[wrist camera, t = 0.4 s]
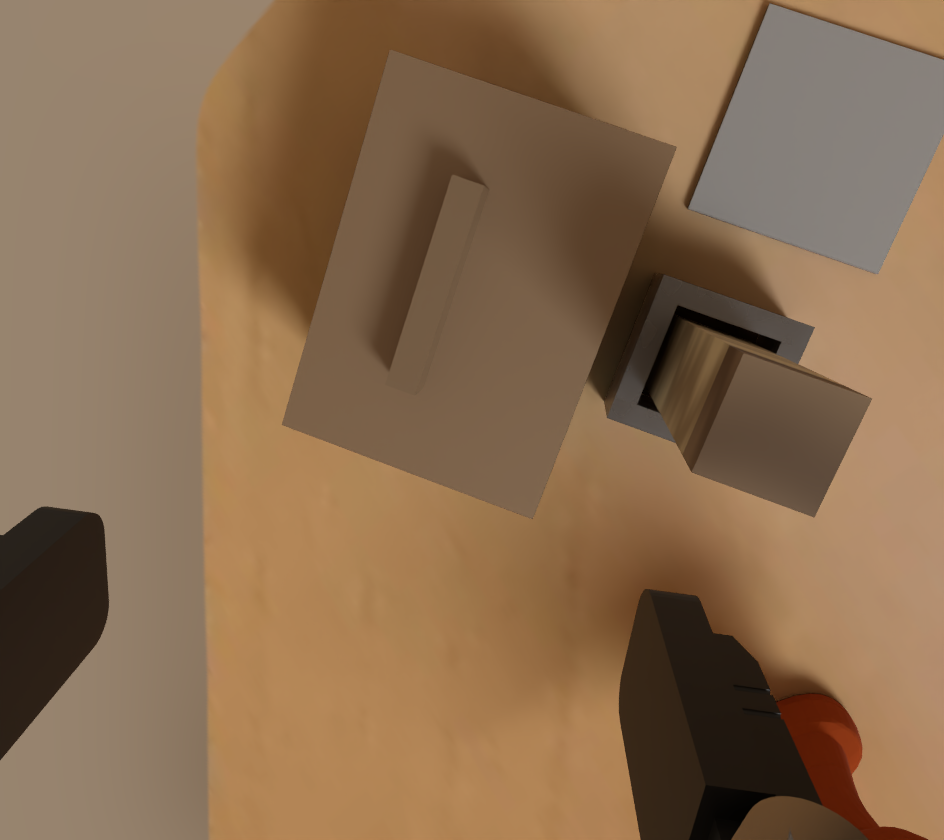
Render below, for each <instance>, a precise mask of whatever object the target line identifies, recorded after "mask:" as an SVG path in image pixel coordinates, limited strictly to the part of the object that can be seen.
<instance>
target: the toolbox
mask: <svg viewBox="0 0 944 840" xmlns="http://www.w3.org/2000/svg"><path fill="white" fill-rule="evenodd" d="M676 148H677V147H676V146H673V145H670V144H667V143H664V142H661V141H658V140H655V139H652V138H649V137H646V136H643V135H640V134H637V133H634V132H631V131H629V130H626V129H623V128H620V127H617V126H614V125H611V124H608V123H605V122H602V121H599V120H596V119H593V118H590V117H587V116H584V115H581V114H579V113H576V112H573V111H570V110H567V109H564V108H561V107H558V106H555V105H552V104H549V103H546V102H543V101H540V100H537V99H534V98H532V97H529V96H526V95H523V94H520V93H517V92H514V91H511V90H508V89H505V88H502V87H499V86H496V85H493V84H490V83H487V82H485V81H482V80H479V79H476V78H473V77H470V76H467V75H464V74H461V73H458V72H455V71H452V70H449V69H446V68H443V67H440V66H438V65H435V64H432V63H429V62H426V61H423V60H420V59H417V58H414V57H411V56H408V55H405V54H402V53H399V52H396V51H393V50H390V51H389V54H388V58H387V61H386V65H385V68H384V72H383V75H382V79H381V82H380V86H379V89H378V93H377V96H376V100H375V103H374V107H373V110H372V113H371V117H370V120H369V124H368V127H367V131H366V134H365V138H364V141H363V145H362V148H361V152H360V155H359V159H358V162H357V166H356V169H355V173H354V176H353V179H352V183H351V186H350V190H349V193H348V197H347V200H346V204H345V207H344V211H343V214H342V218H341V221H340V225H339V228H338V232H337V235H336V238H335V242H334V245H333V249H332V252H331V256H330V259H329V263H328V266H327V270H326V273H325V277H324V280H323V284H322V287H321V291H320V294H319V298H318V301H317V304H316V308H315V311H314V315H313V318H312V322H311V325H310V329H309V332H308V336H307V339H306V343H305V346H304V350H303V353H302V357H301V360H300V363H299V367H298V370H297V374H296V377H295V381H294V384H293V388H292V391H291V395H290V398H289V402H288V405H287V409H286V412H285V416H284V419H283V422H282V425H284V426H286V427H289V428H292V429H294V430H297V431H300V432H302V433H305V434H307V435H310V436H313V437H315V438H318V439H321V440H323V441H326V442H329V443H331V444H334V445H337V446H339V447H342V448H345V449H347V450H350V451H353V452H355V453H358V454H361V455H363V456H366V457H369V458H371V459H374V460H377V461H379V462H382V463H384V464H387V465H390V466H392V467H395V468H398V469H400V470H403V471H406V472H408V473H411V474H414V475H416V476H419V477H422V478H424V479H427V480H430V481H432V482H435V483H438V484H440V485H443V486H446V487H448V488H451V489H454V490H456V491H459V492H461V493H464V494H467V495H469V496H472V497H475V498H477V499H480V500H483V501H485V502H488V503H491V504H493V505H496V506H499V507H501V508H504V509H507V510H509V511H512V512H515V513H517V514H520V515H523V516H525V517H528V518H531V519H533V517H534V515H535V512H536V509H537V507H538V504H539V502H540V499H541V497H542V494H543V491H544V489H545V486H546V484H547V481H548V479H549V476H550V473H551V471H552V468H553V466H554V463H555V460H556V458H557V455H558V453H559V450H560V448H561V445H562V442H563V440H564V437H565V435H566V432H567V429H568V427H569V424H570V422H571V419H572V417H573V414H574V411H575V409H576V406H577V404H578V401H579V398H580V396H581V393H582V391H583V388H584V386H585V383H586V380H587V378H588V375H589V373H590V370H591V367H592V365H593V362H594V360H595V357H596V355H597V352H598V349H599V347H600V344H601V342H602V339H603V336H604V334H605V331H606V329H607V326H608V324H609V321H610V318H611V316H612V313H613V311H614V308H615V305H616V303H617V300H618V298H619V295H620V293H621V290H622V287H623V285H624V282H625V280H626V277H627V275H628V272H629V269H630V267H631V264H632V262H633V259H634V256H635V254H636V251H637V249H638V246H639V244H640V241H641V238H642V236H643V233H644V231H645V228H646V225H647V223H648V220H649V218H650V215H651V213H652V210H653V207H654V205H655V202H656V200H657V197H658V194H659V192H660V189H661V187H662V184H663V182H664V179H665V176H666V174H667V171H668V169H669V166H670V163H671V161H672V158H673V156H674V153H675V151H676Z"/></svg>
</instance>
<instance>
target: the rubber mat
mask: <svg viewBox="0 0 944 840" xmlns="http://www.w3.org/2000/svg"><path fill="white" fill-rule="evenodd" d="M943 134H944V60H942V59H939V58H936V57H933V56H930V55H927V54H924V53H921V52H918V51H915V50H912V49H909V48H906V47H903V46H899V45H896V44H893V43H890V42H887V41H884V40H881V39H878V38H875V37H872V36H869V35H866V34H863V33H860V32H856V31H853V30H850V29H847V28H844V27H841V26H838V25H835V24H832V23H829V22H826V21H823V20H820V19H816V18H813V17H810V16H807V15H804V14H801V13H798V12H795V11H792V10H789V9H786V8H783V7H780V6H777V5H773V4H769V5H768V8H767V10H766V13H765V15H764V18H763V20H762V23H761V25H760V28H759V30H758V33H757V35H756V38H755V40H754V43H753V45H752V48H751V50H750V53H749V55H748V58H747V61H746V63H745V66H744V68H743V71H742V73H741V76H740V78H739V81H738V83H737V86H736V88H735V91H734V93H733V96H732V98H731V101H730V103H729V106H728V108H727V111H726V113H725V116H724V118H723V121H722V123H721V126H720V128H719V131H718V133H717V136H716V138H715V141H714V143H713V146H712V148H711V151H710V153H709V156H708V158H707V161H706V163H705V166H704V168H703V171H702V173H701V176H700V179H699V181H698V184H697V186H696V189H695V191H694V194H693V196H692V199H691V201H690V204H689V206H688V209H689V210H692V211H695V212H698V213H701V214H704V215H706V216H709V217H712V218H715V219H718V220H721V221H724V222H727V223H730V224H732V225H735V226H738V227H741V228H744V229H747V230H750V231H753V232H756V233H759V234H761V235H764V236H767V237H770V238H773V239H776V240H779V241H782V242H785V243H788V244H790V245H793V246H796V247H799V248H802V249H805V250H808V251H811V252H814V253H816V254H819V255H822V256H825V257H828V258H831V259H834V260H837V261H840V262H843V263H845V264H848V265H851V266H854V267H857V268H860V269H863V270H866V271H869V272H872V273H874V274H878V273H879V271H880V269H881V267H882V264H883V262H884V260H885V258H886V256H887V254H888V252H889V250H890V247H891V245H892V243H893V241H894V239H895V237H896V235H897V232H898V230H899V228H900V226H901V224H902V222H903V220H904V218H905V215H906V213H907V211H908V209H909V207H910V205H911V203H912V201H913V198H914V196H915V194H916V192H917V190H918V188H919V186H920V183H921V181H922V179H923V177H924V175H925V173H926V171H927V169H928V166H929V164H930V162H931V160H932V158H933V156H934V154H935V152H936V149H937V147H938V145H939V143H940V141H941V139H942V137H943Z"/></svg>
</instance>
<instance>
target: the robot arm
mask: <svg viewBox="0 0 944 840" xmlns="http://www.w3.org/2000/svg"><path fill="white" fill-rule="evenodd" d="M108 598H109V597H108V581H107V565H106V549H105V534H104V525H103V522H102V519H101V518H100V516H99V515H98V514H95V513H90V512H83V511H75V510H68V509H60V508H53V507H41V508H39V509H37V510H35V511H34V512H33V513H31V514H30V515H29V516H27V517H26V518H25V519H24V520H22V521H21V522H20V523H18V524H17V525H16V526H15V527H13V528H12V529H11V530H10V531H8V532H7V533H6V534H4V535H0V760H1V759H2V758H3V756H4V755H5V754H6V753H7V751H8V750H9V749H10V748H11V747H12V746H13V744H14V743H15V742H16V741H17V739H18V738H19V737H20V736H21V735H22V733H23V732H24V731H25V730H26V729H27V727H28V726H29V725H30V724H31V723H32V721H33V720H34V719H35V718H36V717H37V715H38V714H39V713H40V712H41V710H42V709H43V708H44V707H45V706H46V705H47V703H48V702H49V701H50V700H51V698H52V697H53V696H54V695H55V694H56V692H57V691H58V690H59V689H60V688H61V686H62V685H63V684H64V683H65V681H66V680H67V679H68V678H69V677H70V676H71V674H72V673H73V672H74V671H75V670H76V668H77V667H78V666H79V665H80V663H81V662H82V661H83V660H84V659H85V657H86V656H87V655H88V654H89V653H90V651H91V650H92V649H93V648H94V646H95V645H96V644H97V642H98V640H99V639H100V637H101V634H102V632H103V630H104V627H105V623H106V620H107V616H108V608H109V599H108ZM619 716H620V723H621V729H622V735H623V741H624V746H625V752H626V758H627V764H628V769H629V775H630V781H631V787H632V792H633V798H634V804H635V810H636V815H637V821H638V827H639V832H640V838H641V840H869V839H868V838H867V837H866V836H865V835H864V834H863V833H862V832H861V831H860V830H859V829H857V828H856V827H855V826H854V825H852V824H851V823H850V822H849V821H847V820H846V819H844V818H843V817H841V816H840V815H838V814H837V813H835V812H833V811H832V810H830V809H828V808H826V807H824V806H823V805H822V802H821V800H820V798H819V796H818V794H817V791H816V789H815V787H814V785H813V783H812V780H811V778H810V776H809V774H808V772H807V769H806V767H805V765H804V763H803V761H802V758H801V756H800V754H799V752H798V750H797V747H796V745H795V743H794V741H793V739H792V736H791V734H790V732H789V730H788V728H787V725H786V723H785V721H784V719H781V712H780V710H779V708H778V706H777V704H776V701H775V699H774V697H773V695H770V688H769V686H768V684H767V682H766V679H765V677H764V675H763V673H762V671H761V668H760V666H759V664H758V662H757V661H756V660H755V659H754V658H753V657H752V656H751V655H750V654H749V653H748V652H747V651H746V650H745V649H744V648H743V646H742V645H741V644H740V643H739V642H738V641H737V640H736V639H735V638H734V637H733V636H729V635H722V634H715V633H713V632H712V630H711V627H710V625H709V622H708V620H707V617H706V614H705V612H704V609H703V607H702V604H701V602H700V600H699V598H698V597H697V596H694V595H686V594H679V593H672V592H664V591H657V590H649V589H645V590H644V591H643V593H642V595H641V597H640V600H639V604H638V608H637V612H636V616H635V620H634V624H633V629H632V633H631V637H630V641H629V646H628V650H627V654H626V658H625V663H624V667H623V671H622V676H621V682H620V691H619Z"/></svg>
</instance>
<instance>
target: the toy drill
mask: <svg viewBox="0 0 944 840" xmlns="http://www.w3.org/2000/svg"><path fill="white" fill-rule="evenodd" d="M776 704H777V706H778V708H779V710H780V712H781V719H784V721H785V723H786V725H787V728H788V730H789V732H790V734H791V736H792V739H793V741H794V743H795V745H796V747H797V750H798V752H799V754H800V756H801V758H802V761H803V763H804V765H805V767H806V769H807V772H808V774H809V776H810V778H811V780H812V783H813V785H814V787H815V789H816V791H817V794H818V796H819V798H820V800H821V802H822V805H823V806H824V807H826V808H828V809H830V810H832V811H833V812H835V813H837V814H838V815H840V816H841V817H843V818H844V819H846V820H847V821H849V822H850V823H851V824H852V825H854V826H855V827H856V828H857V829H859V830H860V831H861V832H862V833H863V834H864V835H865V836H866V837H867V838H868V839H869V840H928V839H926V838H924V837H921V836H919V835H916V834H914V833H912V832H909V831H907V830H903V829H899V828H896V827H879V826H878V824H877V823H876V822H875V821H874V819H873V818H872V817H871V816H870V814H869V813H868V812H867V811H866V809H865V807H864V806H863V804H862V802H861V800H860V798H859V796H858V793H857V790H856V788H855V785H854V782H853V778H852V773H853V772H854V771H855V769H856V768H857V767H858V765H859V763H860V760H861V758H862V743H861V739H860V736H859V733H858V730H857V727H856V725H855V723H854V722H853V720H852V718H851V717H850V715H849V714H848V712H847V711H846V710H845V709H844V708H843V706H842V705H841V704H840V703H838V702H837V701H835V700H834V699H832V698H830V697H827V696H825V695H822V694H810V693H809V694H803V695H797V696H793V697H790V698H787V699H784V700H781V701H778V702H776Z"/></svg>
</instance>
